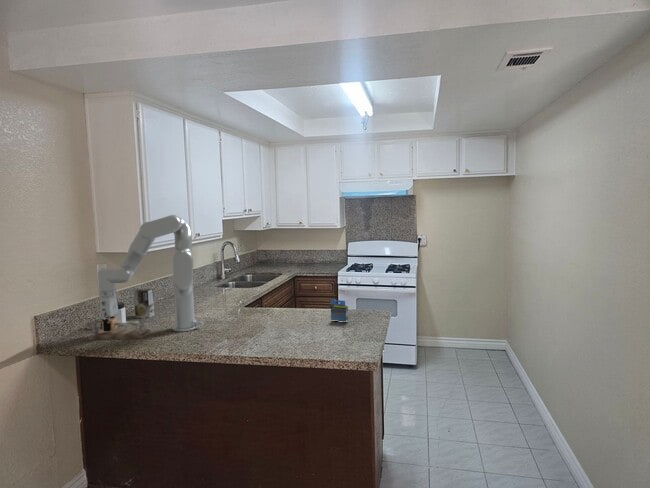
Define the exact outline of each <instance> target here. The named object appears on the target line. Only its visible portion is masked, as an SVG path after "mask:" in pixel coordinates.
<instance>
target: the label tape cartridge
mask: <svg viewBox="0 0 650 488" xmlns="http://www.w3.org/2000/svg"><path fill="white" fill-rule="evenodd" d="M331 320H338V321H346V320H348V321H349V306H348V305H346V301H345V300H339V299H330V321H331Z"/></svg>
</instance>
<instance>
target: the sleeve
mask: <svg viewBox="0 0 650 488" xmlns="http://www.w3.org/2000/svg"><path fill="white" fill-rule="evenodd" d="M105 319H107V320H108V318H105ZM114 322H117V318H110V322H109V323H110V325H111V331H113V330H116V329H117V328H118V327H117V326H114ZM101 323H102V327H101V329H102V330H101V331H104V327H103V321H102V320H101Z"/></svg>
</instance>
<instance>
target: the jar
mask: <svg viewBox="0 0 650 488" xmlns="http://www.w3.org/2000/svg"><path fill="white" fill-rule="evenodd" d="M117 304H118V313H117V314H116V316H115V317H116V318H117V322H127V317H126V314H127V313H126V307H125V302H123V301H117ZM118 327H119V326H117V328H118Z"/></svg>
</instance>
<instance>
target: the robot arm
mask: <svg viewBox="0 0 650 488" xmlns="http://www.w3.org/2000/svg"><path fill="white" fill-rule="evenodd" d="M170 234H173V235H174V255H173V257H172V284H173V297H174V315H175V316H174V317H175V325H174V326H172V330H173V331H175V332H190V331H194V330H196V329H197V328H199V326H202V325H204V322H203V321H202V320H197V318H196V317H195V304H194V303H195V302H194V301H195V300H194V279H193V278H194V256H193V241H192V240H193V236H192V235H193V234H192V229H191V228H190V226H189V224H188V222H186V220H185V219H183V218H181V216H178V215H175V214H170V215H167V216H164V217H161V218H157V219H154V220H150V221H146V222H143V223H142V224H141V225H140V227H139V230H138V232H137V234H136V235H135V237H134V239H133V241H132V242H131V244H130V245H129V248H128V252H127V254H126V256H125V257H124V259H123V262H122V263H121V264H120V266H119V268H116V269H114V268H102V269H101V268H100V269H98V271H97V284H98V285H97V286H98V295H99V296H98V298H99V313H100V320H101V322H102V321H103V327H104V331H111V325H110V323H109V322H110V318H116V317H115V316H116V314H117V313H118V304H117V302H118V299H117V290H116V288H117V286H116V284H126V283H127V282H129V281H130V280H131V279H132V277H133V275H135V272H136V271H137V269H138V268H139V266H140V264H141V262H142V261H143V259H145V257H146V255H147V253H148V251H149V250H150V248H151V247H152V245H153V243H154V241H155V239H156V238H160V237H163V236H166V235H170ZM106 318H108V320H107V319H106Z"/></svg>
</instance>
